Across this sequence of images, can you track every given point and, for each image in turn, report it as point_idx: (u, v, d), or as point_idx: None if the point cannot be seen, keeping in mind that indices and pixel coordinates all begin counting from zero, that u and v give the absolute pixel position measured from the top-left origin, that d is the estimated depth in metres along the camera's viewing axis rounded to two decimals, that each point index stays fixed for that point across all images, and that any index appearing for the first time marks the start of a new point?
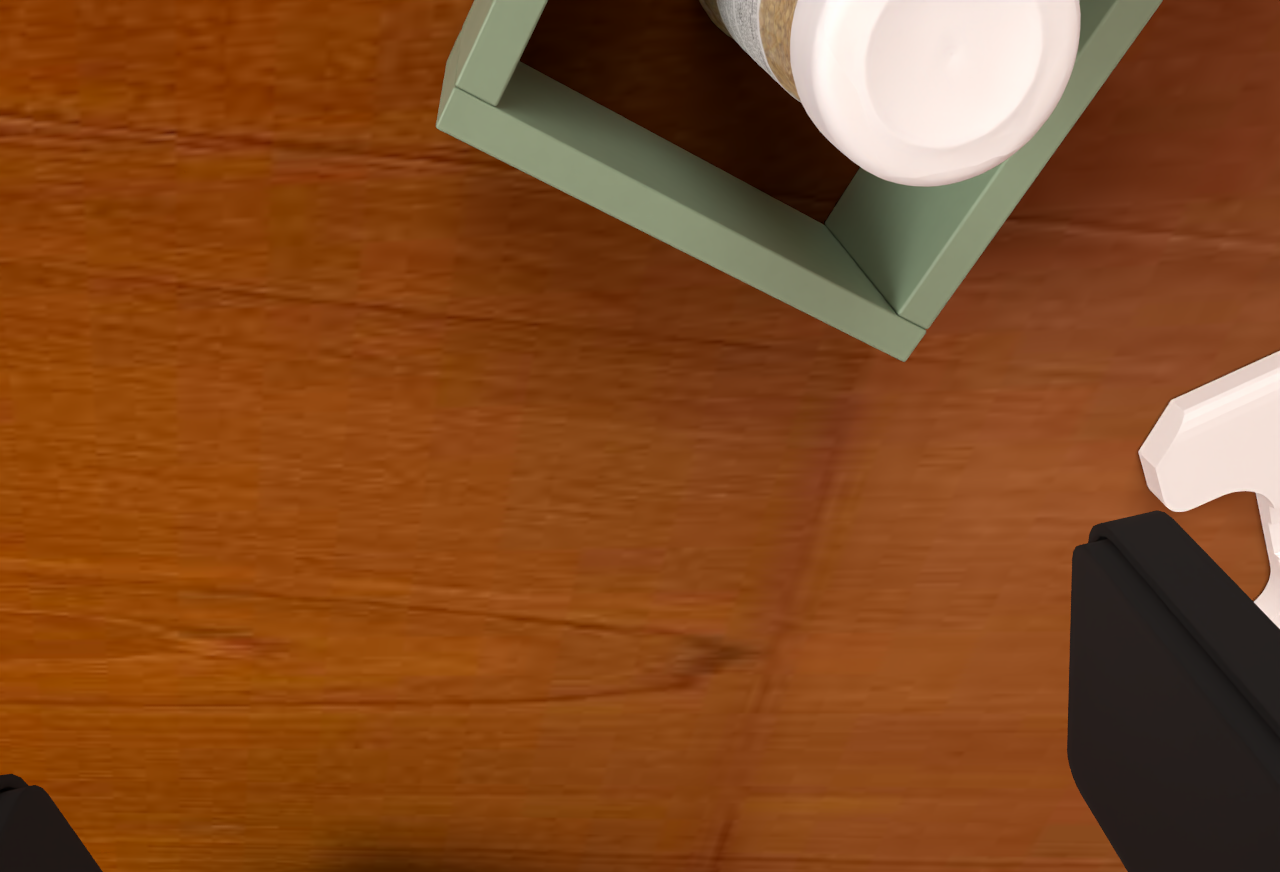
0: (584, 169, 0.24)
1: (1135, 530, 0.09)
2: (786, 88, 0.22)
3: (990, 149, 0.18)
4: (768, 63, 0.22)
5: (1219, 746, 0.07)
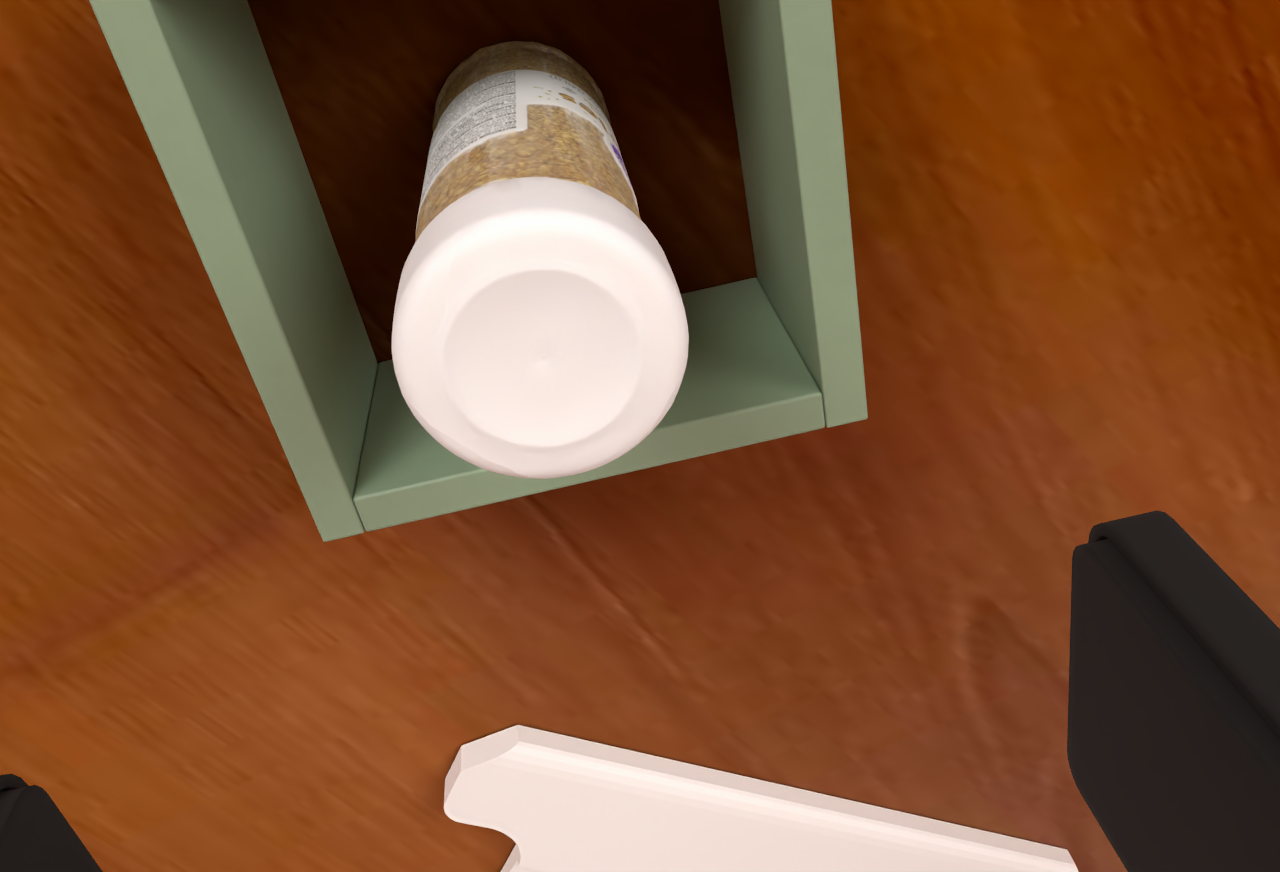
0: (182, 126, 0.20)
1: (1135, 530, 0.09)
2: None
3: (509, 458, 0.17)
4: (420, 208, 0.20)
5: (1219, 746, 0.07)
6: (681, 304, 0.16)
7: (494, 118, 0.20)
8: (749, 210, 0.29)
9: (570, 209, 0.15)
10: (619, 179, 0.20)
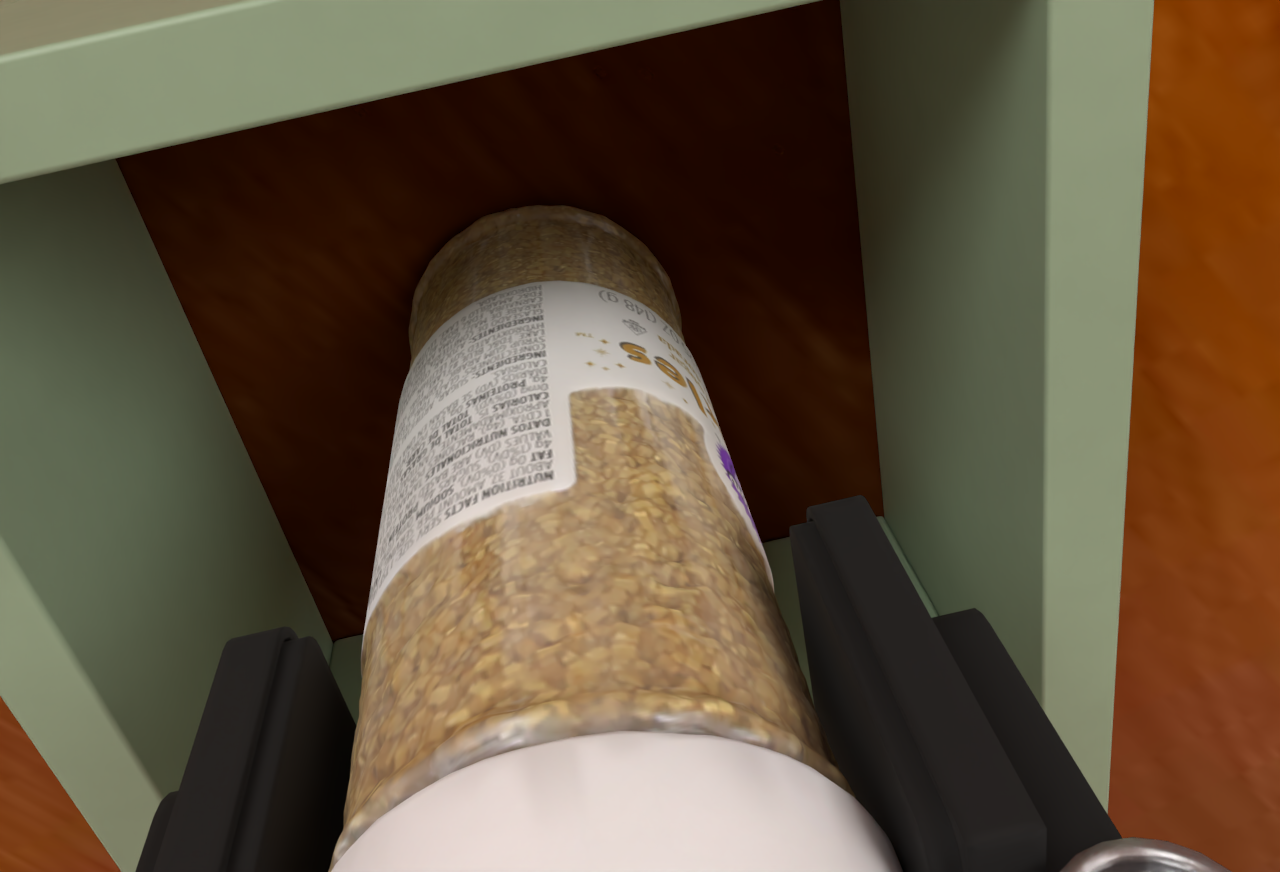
0: None
1: (832, 512, 0.10)
2: None
3: None
4: (369, 621, 0.10)
5: (856, 700, 0.08)
6: None
7: (510, 433, 0.11)
8: (881, 432, 0.20)
9: None
10: (754, 574, 0.10)
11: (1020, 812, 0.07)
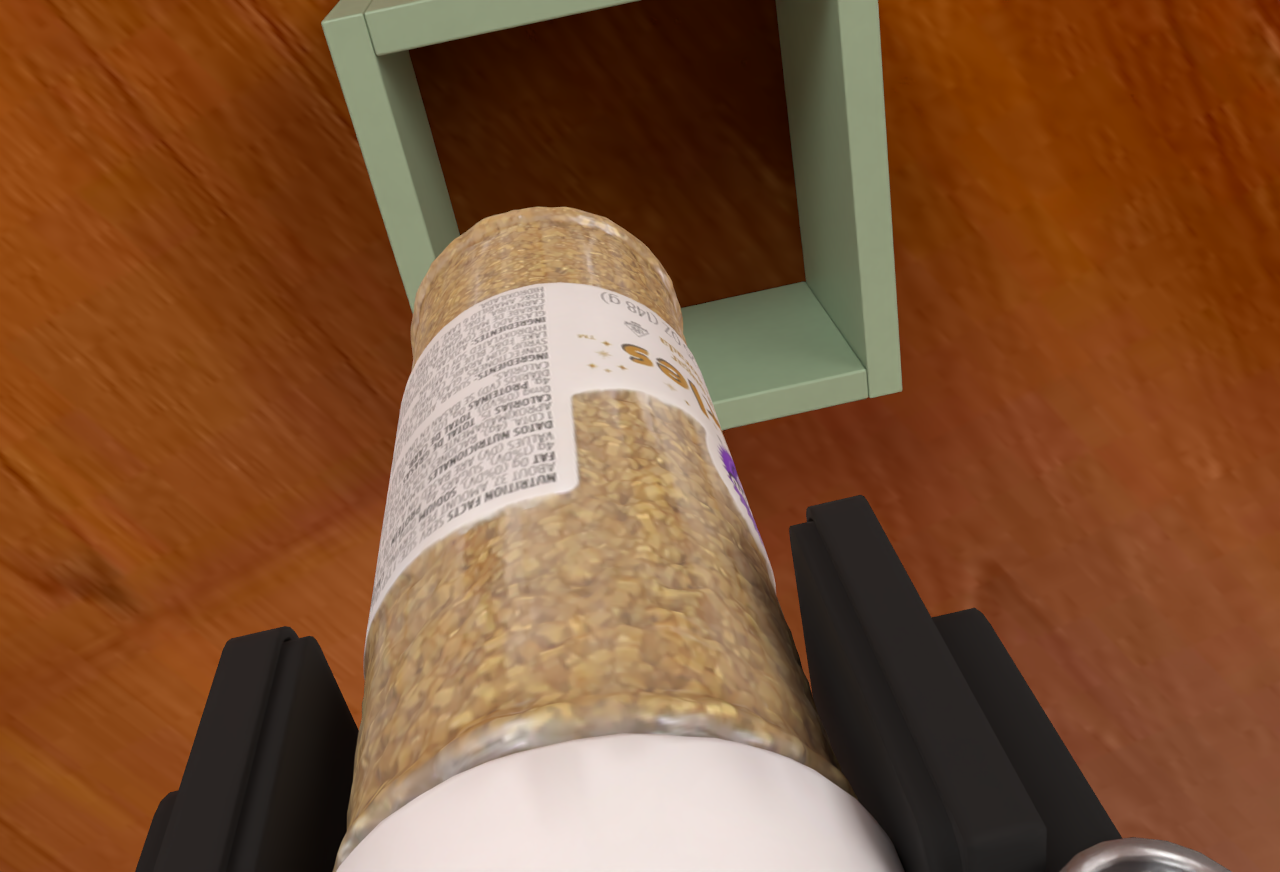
0: (391, 156, 0.26)
1: (833, 512, 0.10)
2: (366, 677, 0.11)
3: None
4: (372, 623, 0.10)
5: (857, 700, 0.08)
6: None
7: (512, 435, 0.11)
8: (801, 226, 0.36)
9: None
10: (756, 576, 0.10)
11: (1021, 812, 0.07)
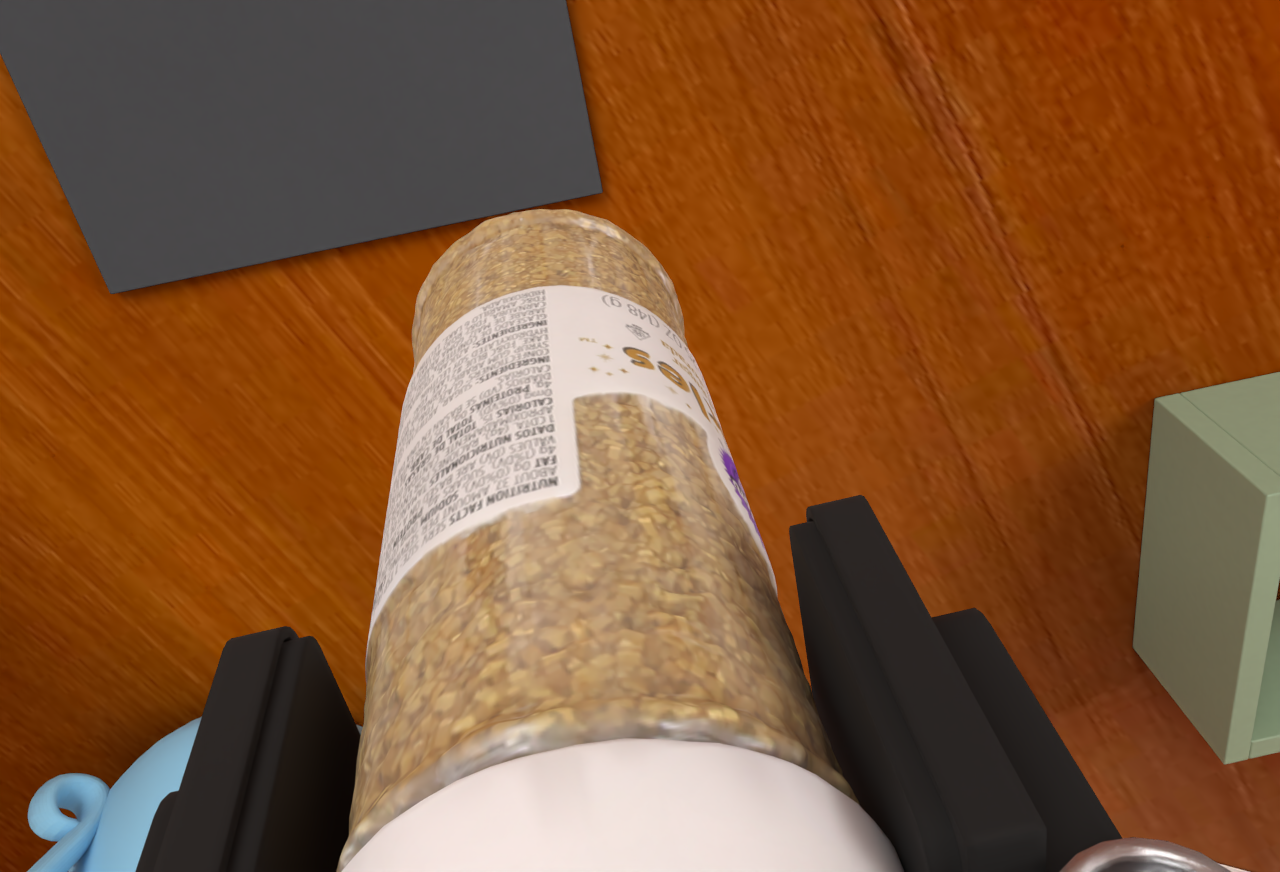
0: (1273, 569, 0.37)
1: (833, 512, 0.10)
2: (368, 681, 0.11)
3: None
4: (374, 626, 0.10)
5: (857, 700, 0.08)
6: None
7: (514, 439, 0.11)
8: None
9: None
10: (757, 580, 0.10)
11: (1021, 812, 0.07)
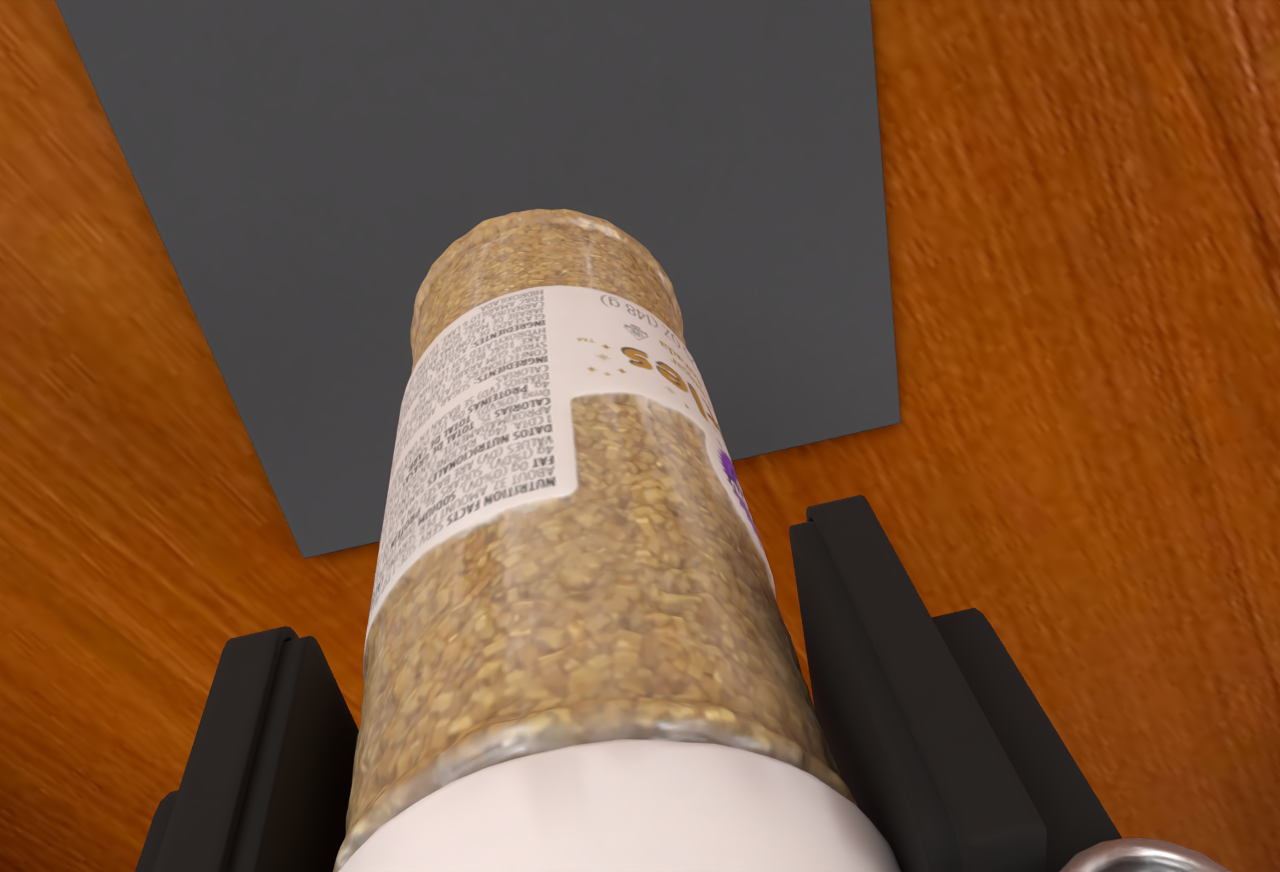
0: None
1: (832, 513, 0.10)
2: None
3: None
4: (371, 627, 0.10)
5: (856, 701, 0.08)
6: None
7: (511, 439, 0.11)
8: None
9: None
10: (755, 580, 0.10)
11: (1021, 812, 0.07)
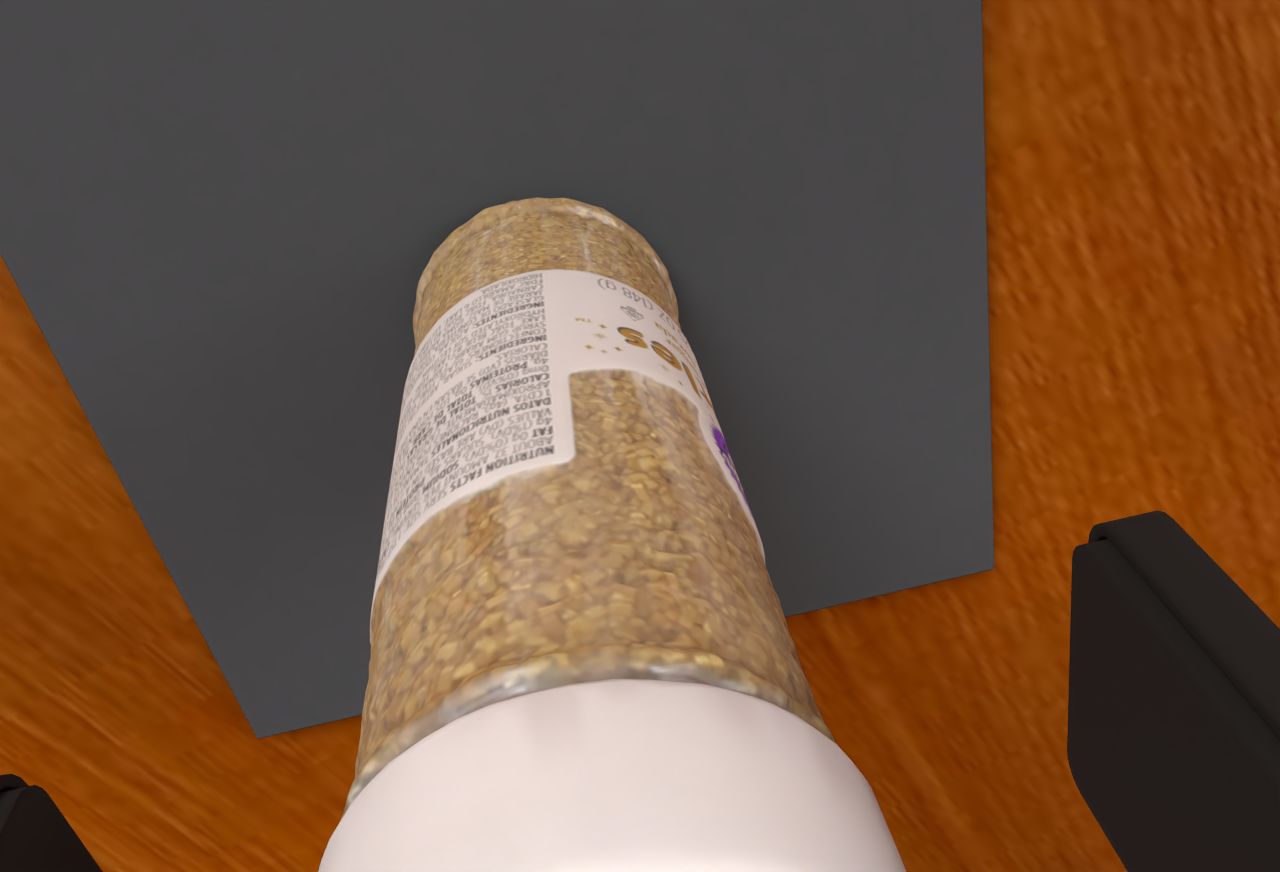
0: None
1: (1135, 530, 0.09)
2: (372, 643, 0.11)
3: None
4: (378, 590, 0.11)
5: (1219, 746, 0.07)
6: None
7: (512, 411, 0.11)
8: None
9: (708, 841, 0.06)
10: (745, 544, 0.11)
11: None
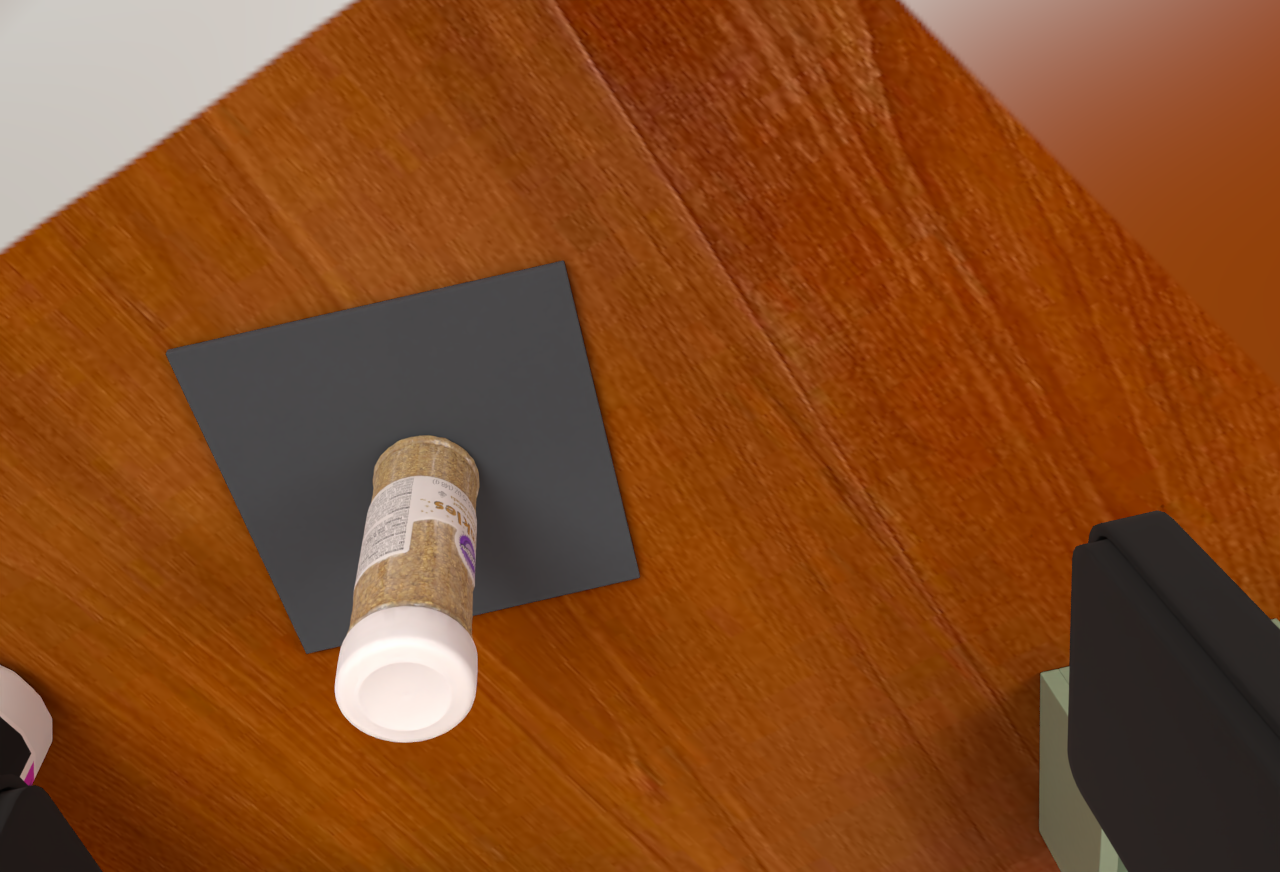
0: None
1: (1135, 530, 0.09)
2: (354, 601, 0.39)
3: (392, 735, 0.35)
4: (355, 586, 0.38)
5: (1219, 746, 0.07)
6: (470, 669, 0.35)
7: (394, 535, 0.39)
8: None
9: (415, 634, 0.34)
10: (456, 574, 0.38)
11: None
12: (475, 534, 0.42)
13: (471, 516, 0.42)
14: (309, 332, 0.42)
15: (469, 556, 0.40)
